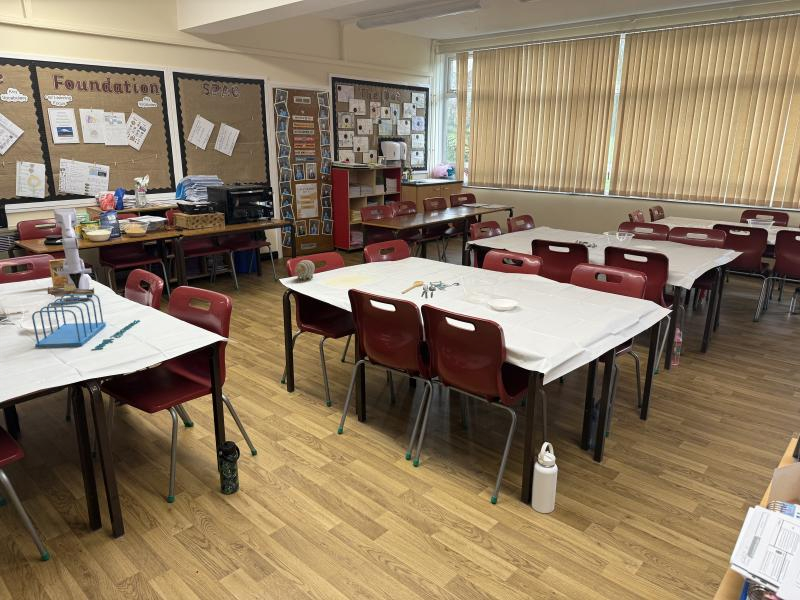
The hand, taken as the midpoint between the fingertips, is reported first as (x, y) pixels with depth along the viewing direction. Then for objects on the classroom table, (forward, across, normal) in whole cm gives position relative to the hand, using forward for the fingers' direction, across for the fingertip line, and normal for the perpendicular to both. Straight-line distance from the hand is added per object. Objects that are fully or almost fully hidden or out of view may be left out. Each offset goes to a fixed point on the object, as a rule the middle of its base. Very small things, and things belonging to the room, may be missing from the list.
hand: (77, 288), depth 283 cm
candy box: (+7, -8, +35) cm, 36 cm away
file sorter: (+7, -3, -60) cm, 60 cm away
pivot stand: (+6, -3, 0) cm, 7 cm away
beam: (+4, -3, 0) cm, 5 cm away
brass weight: (+1, -4, 0) cm, 4 cm away
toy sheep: (+7, +117, -11) cm, 118 cm away
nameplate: (+7, +14, -66) cm, 68 cm away
